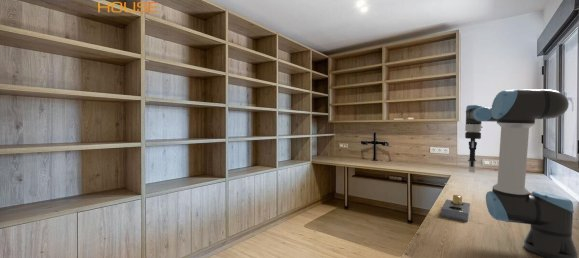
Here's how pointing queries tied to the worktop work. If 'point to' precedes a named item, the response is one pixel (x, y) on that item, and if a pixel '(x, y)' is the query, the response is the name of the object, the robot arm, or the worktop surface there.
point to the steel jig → (455, 210)
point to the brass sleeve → (457, 200)
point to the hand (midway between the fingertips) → (471, 172)
